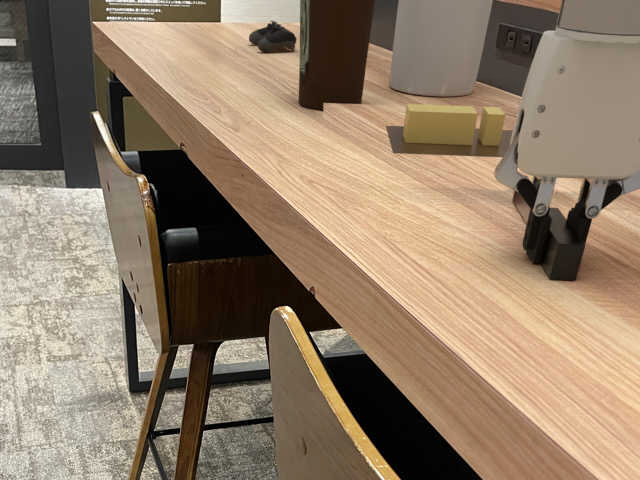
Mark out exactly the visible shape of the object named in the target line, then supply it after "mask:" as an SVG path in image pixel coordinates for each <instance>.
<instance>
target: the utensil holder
mask: <svg viewBox="0 0 640 480" xmlns="http://www.w3.org/2000/svg"><path fill="white" fill-rule="evenodd" d="M493 1H494V0H398V3H397V11H396V19H395V29H394V34H393V35H394V36H393V45H392V54H391V65H390V76H389V86H390V88H391V89H393V90H395V91H398V92H401V93H406V94H410V95H416V96H424V97H427V96H428V97H443V98H444V97H447V98H448V97H450V98H451V97H462V96H467V95H471V94H473V93H474V91H475V88H476V87H475V86H476V84H477V83H476V82H477V78H478V74H479V70H480V63H481V61H482V55H483V52H484V46H485V41H486V36H487V31H488V26H489V21H490V17H491V12H492V7H493Z"/></svg>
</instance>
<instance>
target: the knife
mask: <svg viewBox="0 0 640 480" xmlns="http://www.w3.org/2000/svg"><path fill="white" fill-rule="evenodd" d="M513 191H514V192H513V197H512V200H513V202H514V203H515V205H516V207H517V208H518V210H519V211H518V210H517V211H518V213H519V212H520V213H521V215H522V216H523V218H524V220H525V221H526V223H527V221H528V217H529V212H530V207H529V206H528V204H527V203H526V202H525V200H524V199H523V198H522V196H521V195H520V193H519V192H517V191H515V190H513ZM513 202H512V203H513ZM514 203H513V204H514ZM515 205H514V206H515ZM516 207H515V208H516ZM517 208H516V209H517ZM549 208H550V211H549V215H550V217H551V218H552V222H551V226H550V230H549V232H548V236H547V240H546V244H545V248H544V252H543V256H542V260H541V262H539V264H540V266H541V267H542V269H543V271H544V272H545V274H546V276H547V277H548V279H549V280H556V281H575V282H576V280H577V278H578V274H579V271H580V267H581V263H582V260H583V257H584V252H585V249H586V243H585V244H584V243H583V241H582V240H581V238H580V237H579V236H578V234H577V233H576V232H575V231H574V229H573V228H572V227H571V225H570V224H569V223H568V221H567V217H565V215H564V214H563V212H562V211H561V210H560V208H558V207H550V206H549ZM520 213H519V214H520ZM521 215H520V216H521ZM522 216H521V217H522ZM523 218H522V219H523ZM524 220H523V221H524ZM525 221H524V222H525ZM526 223H525V224H526Z"/></svg>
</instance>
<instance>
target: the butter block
mask: <svg viewBox="0 0 640 480" xmlns="http://www.w3.org/2000/svg"><path fill="white" fill-rule="evenodd" d="M478 114H479V112H478V111H477V110H476V109H475V107H474V106H473V105H451V104H450V105H447V104H445V105H444V104H420V103H417V104H416V103H406V107H405V114H404V122H403V126H404V129H403V137H404V140H405V143H423V144H450V145H472V144H473V138H474V133H475V129H476V127H477V121H478V116H479V115H478Z"/></svg>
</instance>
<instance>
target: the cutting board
mask: <svg viewBox="0 0 640 480" xmlns="http://www.w3.org/2000/svg"><path fill="white" fill-rule="evenodd" d="M385 128H386V132H387V136H388V140H389V143H390V147H391V151H392V154H399V155H400V154H401V155H424V156H426V155H428V156H450V157H451V156H454V157H455V156H456V157H482V158H503V156H504V154H505V153H506V151H507V150H508V148H509V146H510V140H511V136H512V131H513V129H502V134H501V139H500V144H499V146H483V145H482V144H481V142H480V141H479V139H478V133H479V128H475V133H474V138H473V144H472V145H450V144H423V143H405V140H404V137H403V129H404V125H385Z"/></svg>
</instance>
